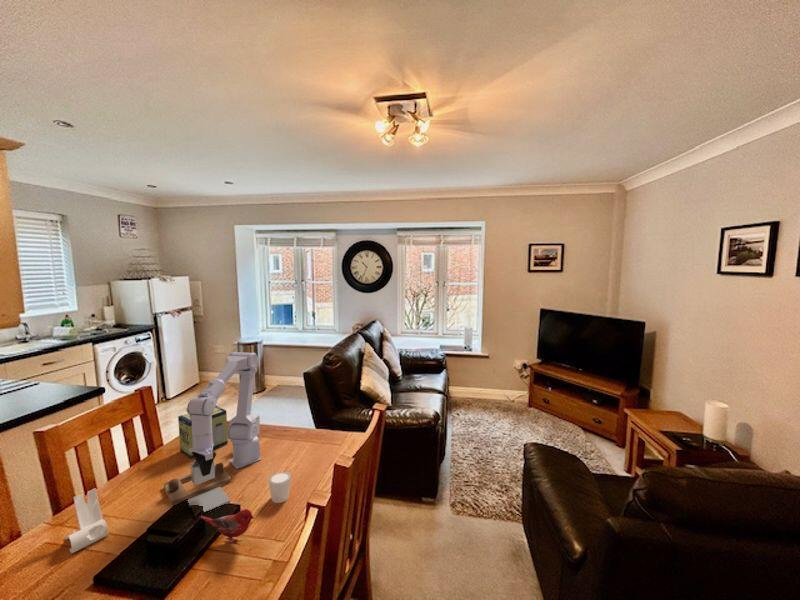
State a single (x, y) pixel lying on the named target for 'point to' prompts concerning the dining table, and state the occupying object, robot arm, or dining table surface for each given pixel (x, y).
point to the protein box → (217, 431)
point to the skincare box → (257, 425)
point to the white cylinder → (279, 487)
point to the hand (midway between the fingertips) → (204, 471)
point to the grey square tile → (210, 499)
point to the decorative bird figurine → (232, 524)
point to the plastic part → (87, 522)
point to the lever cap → (197, 475)
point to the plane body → (179, 494)
